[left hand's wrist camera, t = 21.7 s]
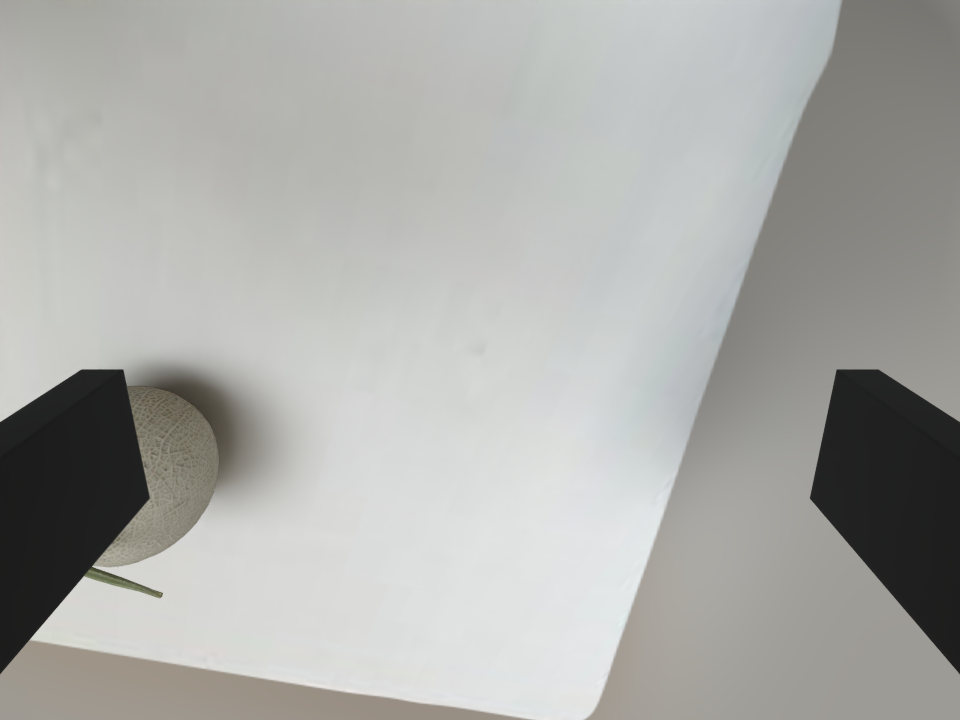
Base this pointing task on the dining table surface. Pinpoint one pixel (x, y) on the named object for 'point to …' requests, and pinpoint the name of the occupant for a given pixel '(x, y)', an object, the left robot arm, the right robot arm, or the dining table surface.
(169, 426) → the fruit
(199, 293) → the dining table surface
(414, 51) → the dining table surface
